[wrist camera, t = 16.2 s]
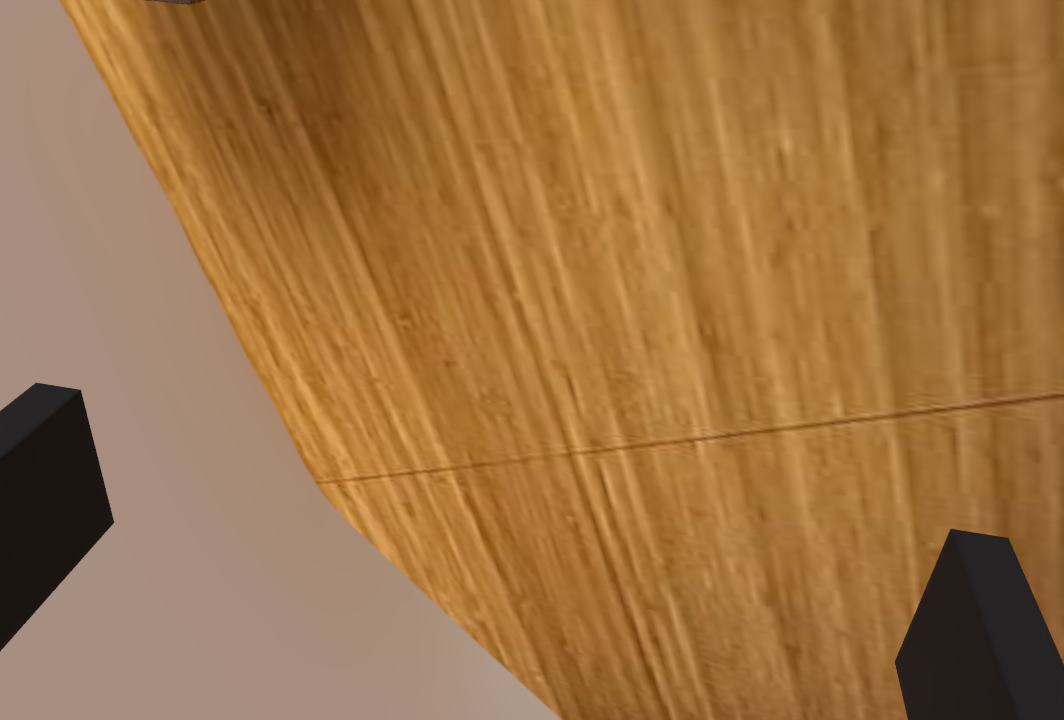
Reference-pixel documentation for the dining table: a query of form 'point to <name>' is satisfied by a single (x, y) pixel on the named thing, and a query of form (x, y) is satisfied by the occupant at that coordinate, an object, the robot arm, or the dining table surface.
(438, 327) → the dining table surface
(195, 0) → the shoe rack
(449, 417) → the dining table surface
